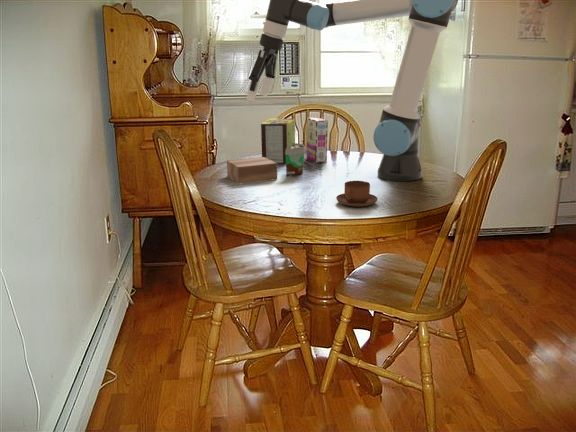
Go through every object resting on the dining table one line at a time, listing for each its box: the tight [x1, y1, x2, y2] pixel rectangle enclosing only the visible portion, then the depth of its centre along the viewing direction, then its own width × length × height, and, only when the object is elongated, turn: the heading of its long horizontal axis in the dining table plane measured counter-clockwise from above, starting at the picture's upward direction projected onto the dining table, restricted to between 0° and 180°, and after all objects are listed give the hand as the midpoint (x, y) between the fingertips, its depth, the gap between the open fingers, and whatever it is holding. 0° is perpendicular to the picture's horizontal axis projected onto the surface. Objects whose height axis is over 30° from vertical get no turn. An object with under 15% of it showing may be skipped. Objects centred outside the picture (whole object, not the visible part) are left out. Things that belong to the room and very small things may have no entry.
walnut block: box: [226, 156, 278, 185], centre depth 199 cm, size 12×14×6 cm
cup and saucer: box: [335, 180, 379, 208], centre depth 167 cm, size 12×12×6 cm
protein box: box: [260, 117, 296, 165], centre depth 228 cm, size 10×15×16 cm
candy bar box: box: [306, 117, 329, 164], centre depth 226 cm, size 11×5×16 cm, turn 17°
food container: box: [285, 142, 307, 177], centre depth 204 cm, size 12×6×10 cm, turn 168°
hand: (256, 97), depth 196 cm, fingers open, 13 cm apart
